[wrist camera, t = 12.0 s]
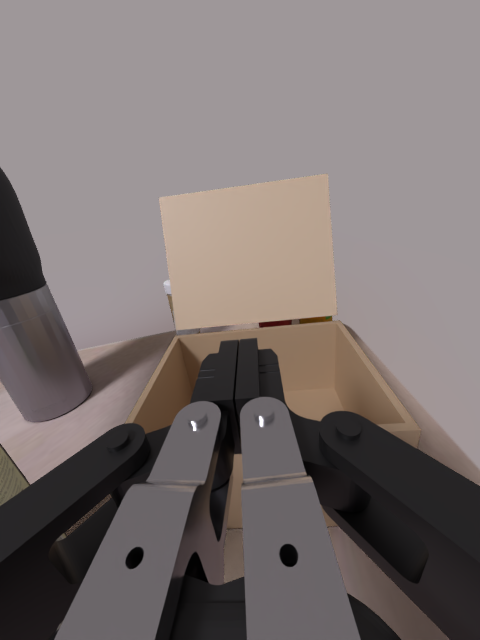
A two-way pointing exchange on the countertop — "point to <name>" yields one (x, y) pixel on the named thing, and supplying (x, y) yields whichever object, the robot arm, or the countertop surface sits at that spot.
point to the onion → (275, 323)
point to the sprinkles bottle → (178, 332)
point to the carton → (297, 380)
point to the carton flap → (250, 253)
